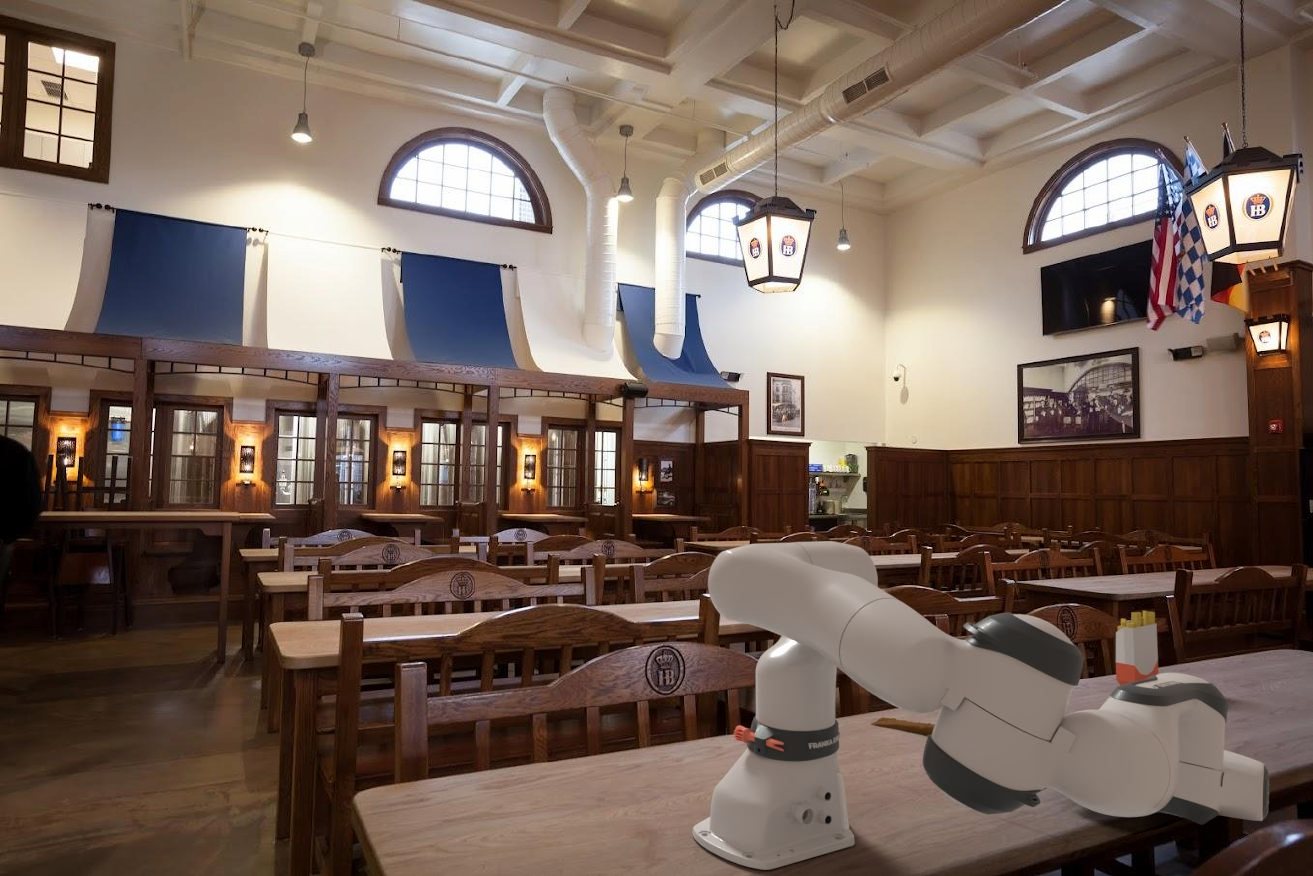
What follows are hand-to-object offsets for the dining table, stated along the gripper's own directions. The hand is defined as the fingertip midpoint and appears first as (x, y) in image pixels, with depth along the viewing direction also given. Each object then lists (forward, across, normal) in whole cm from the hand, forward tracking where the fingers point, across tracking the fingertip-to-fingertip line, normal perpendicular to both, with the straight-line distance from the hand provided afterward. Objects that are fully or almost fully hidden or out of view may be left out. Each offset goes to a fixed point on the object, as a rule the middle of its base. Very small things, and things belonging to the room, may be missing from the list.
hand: (1040, 738), depth 127 cm
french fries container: (+11, +75, -7) cm, 76 cm away
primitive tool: (+26, +7, -7) cm, 28 cm away
